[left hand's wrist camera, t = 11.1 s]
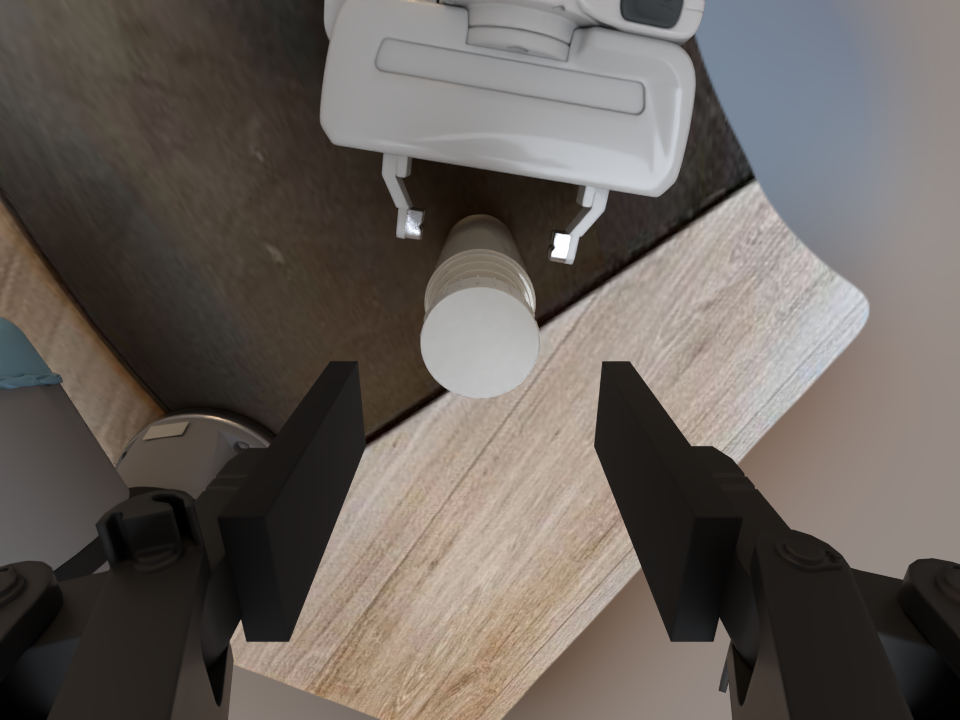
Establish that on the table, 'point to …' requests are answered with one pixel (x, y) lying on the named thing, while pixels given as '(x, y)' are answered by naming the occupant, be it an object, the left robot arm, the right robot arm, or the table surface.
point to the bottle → (479, 257)
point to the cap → (480, 337)
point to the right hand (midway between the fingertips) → (485, 249)
